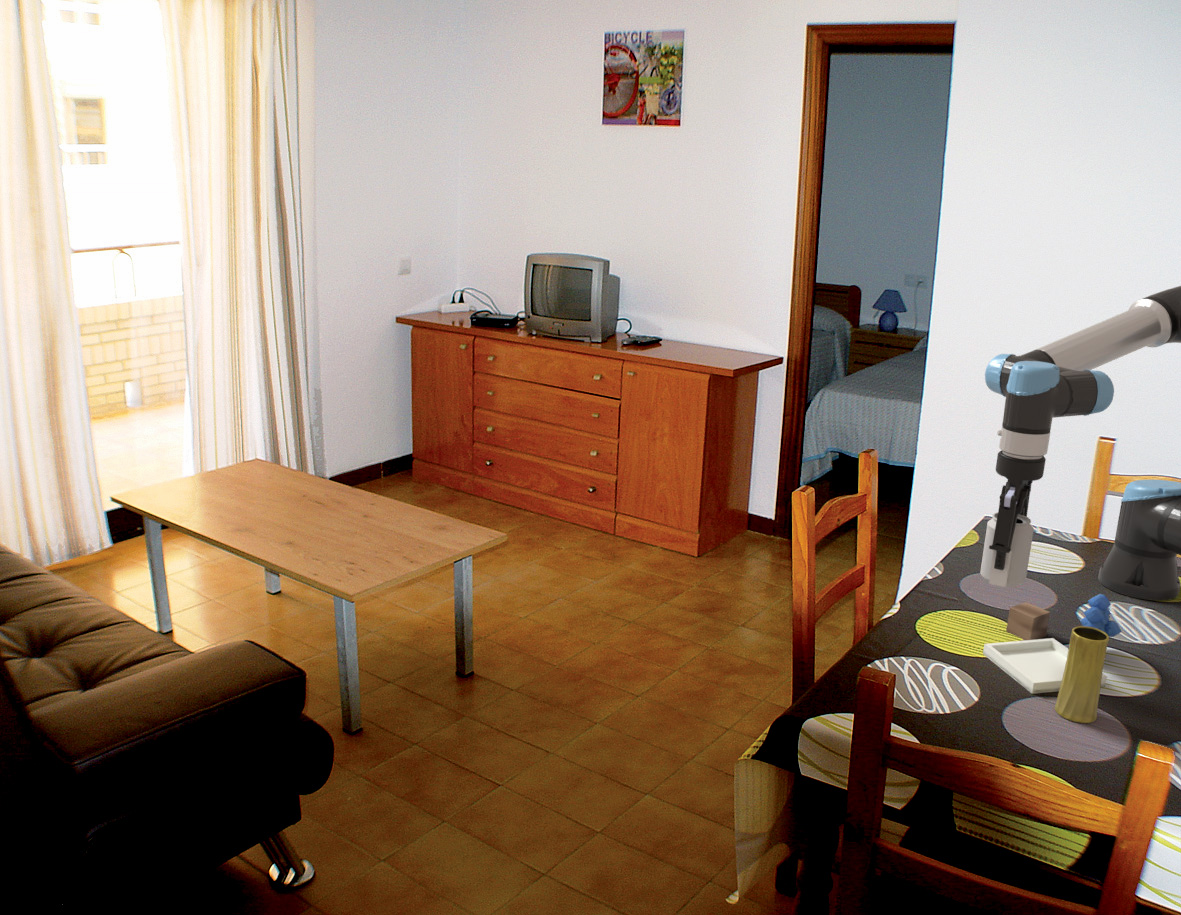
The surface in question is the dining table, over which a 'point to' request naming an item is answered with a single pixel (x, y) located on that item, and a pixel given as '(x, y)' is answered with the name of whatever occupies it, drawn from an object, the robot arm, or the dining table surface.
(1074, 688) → the vase
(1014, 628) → the walnut block
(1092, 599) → the grapes
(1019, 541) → the can
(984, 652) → the tray
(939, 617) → the dining table surface
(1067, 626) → the dining table surface
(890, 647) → the dining table surface
